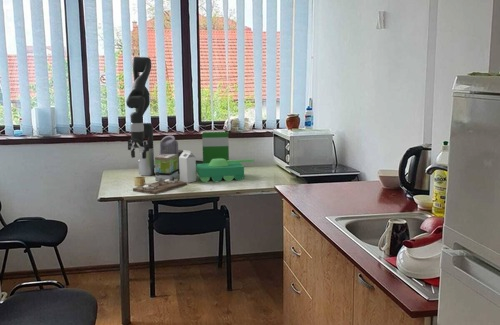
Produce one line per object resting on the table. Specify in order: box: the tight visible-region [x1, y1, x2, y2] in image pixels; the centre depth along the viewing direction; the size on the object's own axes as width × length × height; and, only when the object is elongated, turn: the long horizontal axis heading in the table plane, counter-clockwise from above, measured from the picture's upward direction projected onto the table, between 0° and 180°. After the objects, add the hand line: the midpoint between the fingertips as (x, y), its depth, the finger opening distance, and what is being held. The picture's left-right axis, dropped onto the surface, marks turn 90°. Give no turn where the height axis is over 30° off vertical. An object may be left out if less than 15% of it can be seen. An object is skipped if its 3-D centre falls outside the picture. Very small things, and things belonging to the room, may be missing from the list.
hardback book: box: [201, 131, 230, 164], centre depth 367 cm, size 18×7×24 cm, turn 92°
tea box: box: [154, 154, 179, 182], centre depth 331 cm, size 15×10×15 cm
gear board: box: [132, 177, 188, 195], centre depth 306 cm, size 16×28×6 cm, turn 148°
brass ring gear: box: [133, 176, 146, 187], centre depth 314 cm, size 6×6×4 cm
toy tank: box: [196, 158, 255, 183], centre depth 330 cm, size 18×12×35 cm
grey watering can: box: [158, 134, 184, 175], centre depth 353 cm, size 30×16×24 cm, turn 161°
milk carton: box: [179, 149, 197, 184], centre depth 321 cm, size 7×7×19 cm
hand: (138, 158), depth 312 cm, fingers open, 8 cm apart
